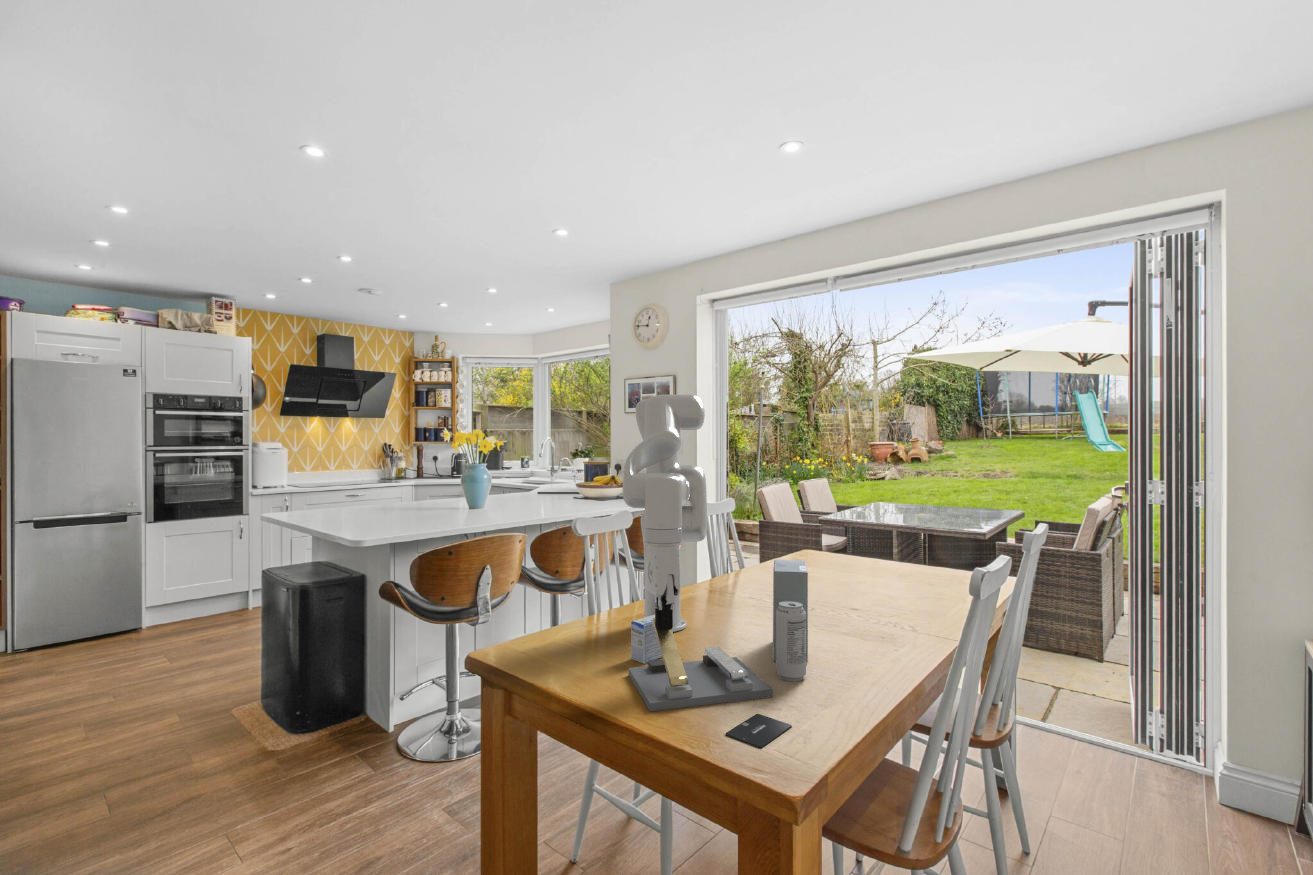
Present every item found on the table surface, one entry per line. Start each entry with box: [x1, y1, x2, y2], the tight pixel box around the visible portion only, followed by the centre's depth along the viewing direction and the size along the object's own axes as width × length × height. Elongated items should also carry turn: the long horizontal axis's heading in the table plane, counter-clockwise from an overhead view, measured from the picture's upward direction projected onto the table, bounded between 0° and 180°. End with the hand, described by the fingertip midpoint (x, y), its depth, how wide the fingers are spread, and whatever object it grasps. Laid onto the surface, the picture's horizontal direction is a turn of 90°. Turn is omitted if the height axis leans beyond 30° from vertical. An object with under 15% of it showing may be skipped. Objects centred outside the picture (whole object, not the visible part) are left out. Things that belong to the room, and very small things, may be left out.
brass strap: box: [653, 618, 688, 687], centre depth 119 cm, size 16×3×2 cm
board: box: [628, 654, 774, 713], centre depth 122 cm, size 18×24×3 cm
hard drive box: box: [772, 559, 809, 664], centre depth 141 cm, size 16×8×20 cm, turn 168°
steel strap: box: [704, 646, 749, 680], centre depth 123 cm, size 16×3×2 cm, turn 15°
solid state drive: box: [725, 713, 792, 750], centre depth 102 cm, size 7×10×1 cm
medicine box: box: [630, 615, 663, 665], centre depth 138 cm, size 8×4×9 cm, turn 135°
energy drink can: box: [775, 601, 807, 683], centre depth 126 cm, size 6×6×15 cm
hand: (663, 628), depth 123 cm, fingers closed
